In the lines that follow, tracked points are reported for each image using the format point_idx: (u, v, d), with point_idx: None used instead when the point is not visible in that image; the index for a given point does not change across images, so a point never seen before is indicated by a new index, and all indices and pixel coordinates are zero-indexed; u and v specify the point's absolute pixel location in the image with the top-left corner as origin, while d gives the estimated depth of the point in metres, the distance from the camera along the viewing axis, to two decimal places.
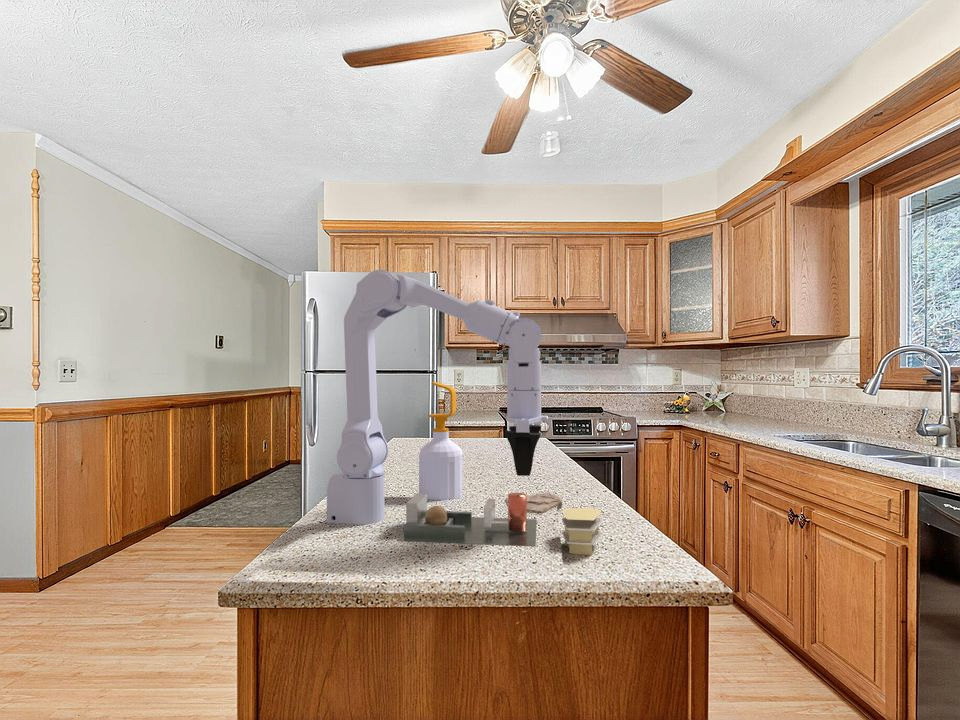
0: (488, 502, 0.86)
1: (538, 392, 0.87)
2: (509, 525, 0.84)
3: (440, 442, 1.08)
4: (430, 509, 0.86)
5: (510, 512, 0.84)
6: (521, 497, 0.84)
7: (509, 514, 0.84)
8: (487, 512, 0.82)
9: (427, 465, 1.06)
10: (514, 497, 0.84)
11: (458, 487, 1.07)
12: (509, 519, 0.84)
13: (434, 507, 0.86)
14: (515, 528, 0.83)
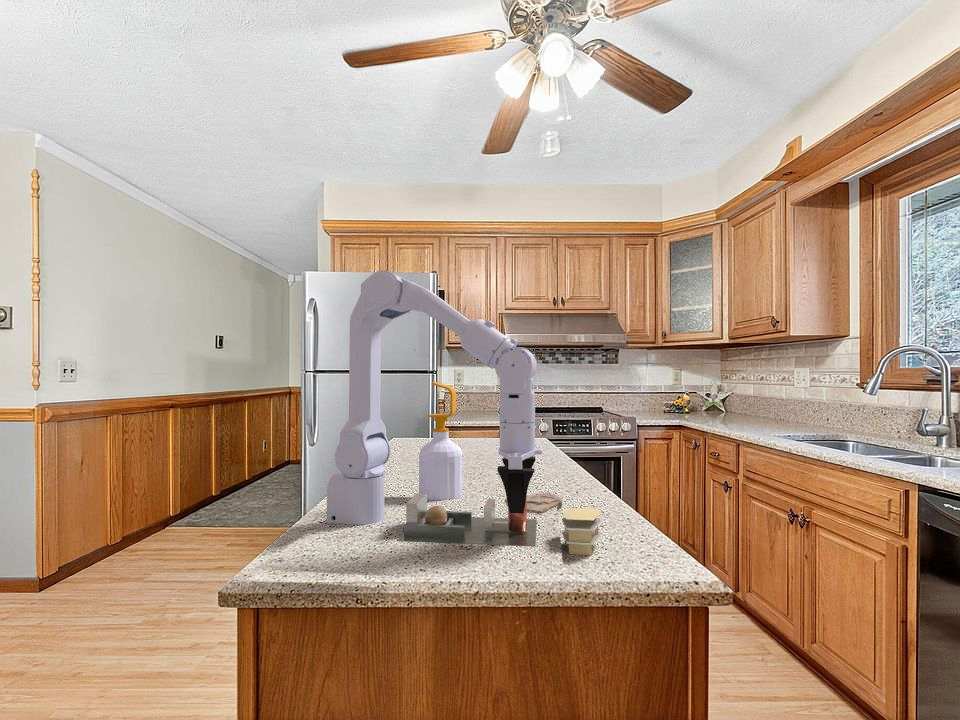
0: (488, 502, 0.86)
1: (532, 424, 0.83)
2: (509, 525, 0.84)
3: (440, 442, 1.08)
4: (430, 509, 0.86)
5: None
6: None
7: (509, 514, 0.84)
8: (487, 512, 0.82)
9: (427, 465, 1.06)
10: None
11: (458, 487, 1.07)
12: (509, 519, 0.84)
13: (434, 507, 0.86)
14: (515, 528, 0.83)
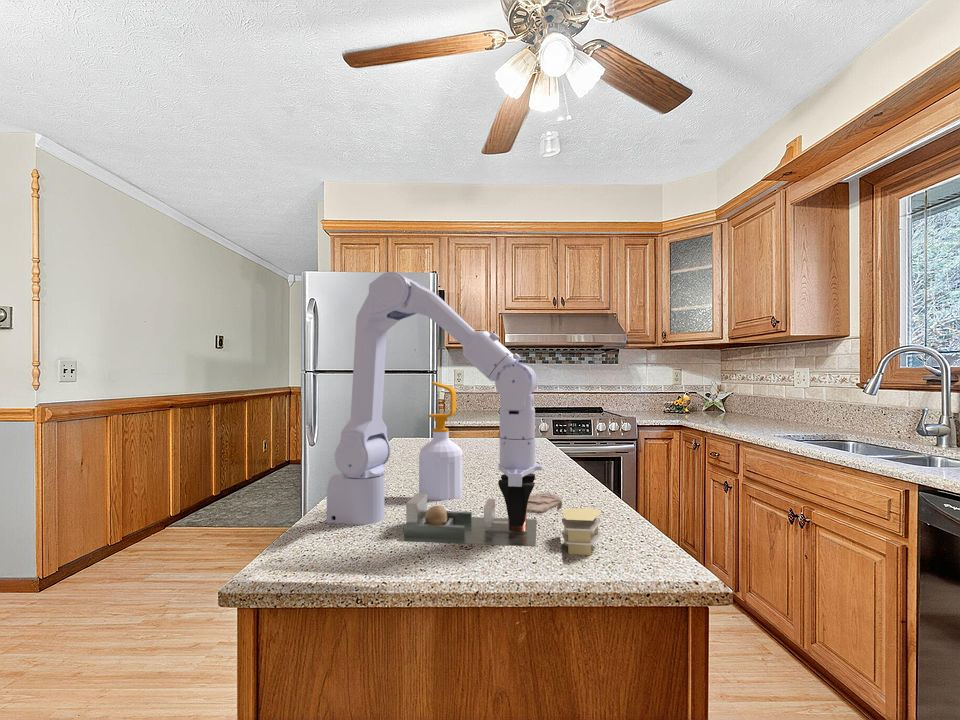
0: (488, 502, 0.86)
1: (532, 441, 0.83)
2: (509, 525, 0.84)
3: (441, 442, 1.08)
4: (430, 509, 0.86)
5: None
6: None
7: None
8: (487, 512, 0.82)
9: (427, 465, 1.06)
10: None
11: (458, 487, 1.07)
12: None
13: (434, 507, 0.86)
14: (515, 528, 0.83)
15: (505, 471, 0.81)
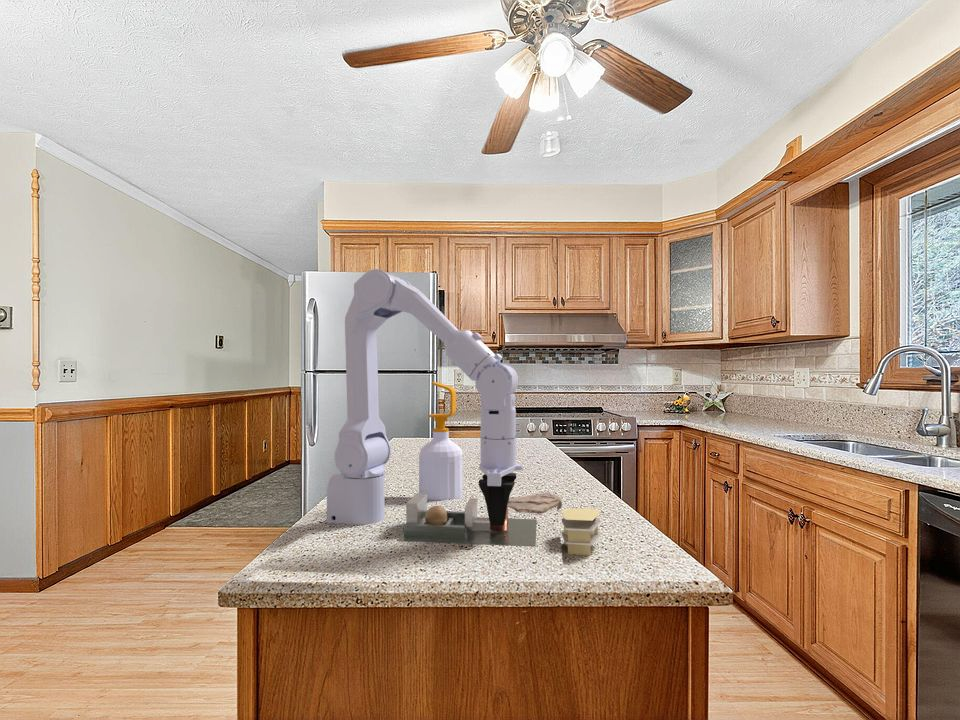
0: (470, 501, 0.86)
1: (512, 440, 0.84)
2: (490, 524, 0.84)
3: (440, 442, 1.08)
4: (430, 509, 0.86)
5: None
6: None
7: None
8: (468, 512, 0.83)
9: (427, 465, 1.06)
10: None
11: (458, 487, 1.07)
12: None
13: (434, 507, 0.86)
14: (496, 527, 0.84)
15: (485, 471, 0.81)
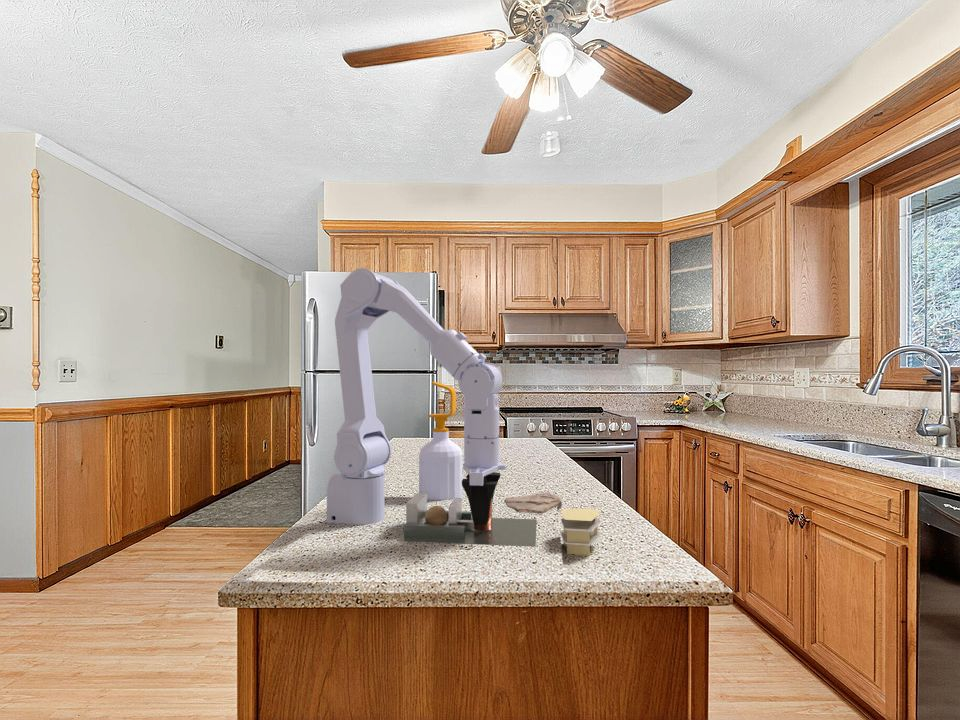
0: (454, 501, 0.87)
1: (495, 440, 0.84)
2: None
3: (441, 442, 1.08)
4: (430, 509, 0.86)
5: None
6: None
7: None
8: (452, 511, 0.83)
9: (427, 465, 1.06)
10: None
11: (458, 487, 1.07)
12: None
13: (434, 507, 0.86)
14: (480, 527, 0.84)
15: (468, 470, 0.81)
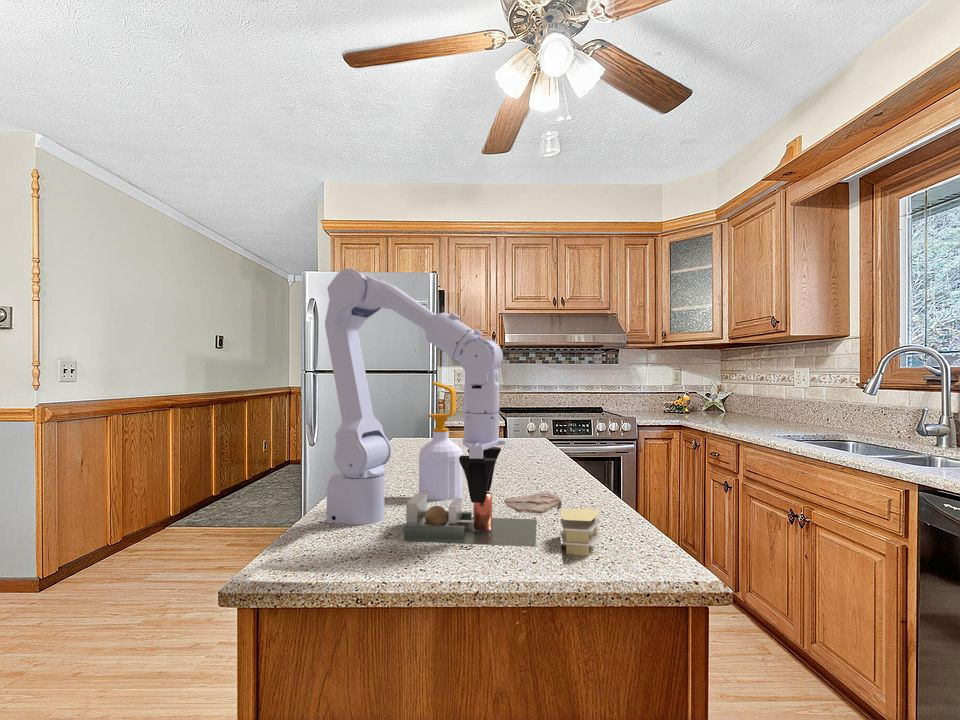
0: (454, 501, 0.87)
1: (495, 415, 0.84)
2: (474, 524, 0.85)
3: (440, 442, 1.08)
4: (430, 509, 0.86)
5: (475, 511, 0.85)
6: (486, 496, 0.84)
7: (474, 513, 0.85)
8: (452, 511, 0.83)
9: (427, 465, 1.06)
10: None
11: (458, 487, 1.07)
12: (474, 518, 0.85)
13: (434, 507, 0.86)
14: (480, 527, 0.84)
15: (467, 444, 0.81)
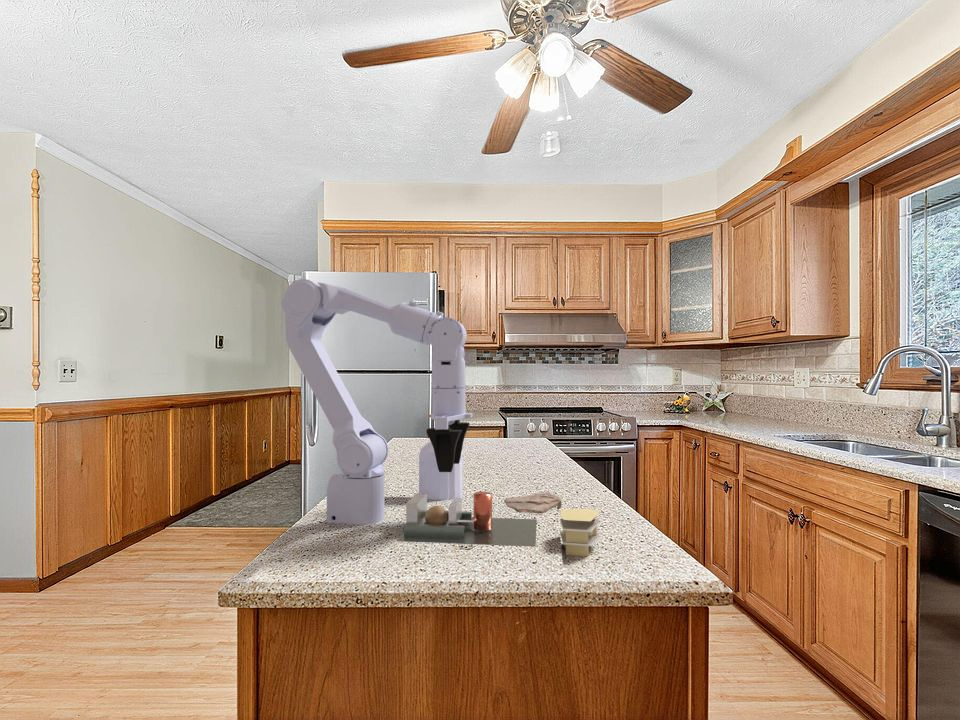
0: (454, 501, 0.87)
1: (461, 390, 0.89)
2: (474, 524, 0.85)
3: None
4: (430, 509, 0.86)
5: (475, 511, 0.85)
6: (486, 496, 0.84)
7: (474, 513, 0.85)
8: (452, 511, 0.83)
9: (427, 465, 1.06)
10: (479, 496, 0.84)
11: (458, 487, 1.07)
12: (474, 518, 0.85)
13: (434, 507, 0.86)
14: (480, 527, 0.84)
15: (434, 417, 0.86)
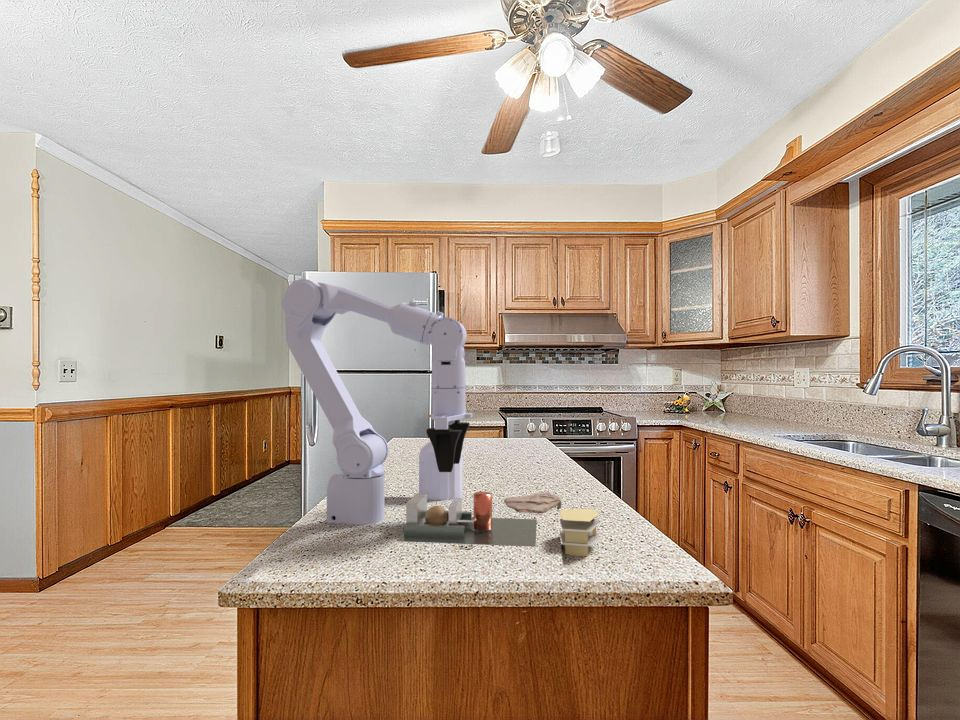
0: (454, 501, 0.87)
1: (461, 390, 0.89)
2: (474, 524, 0.85)
3: None
4: (430, 509, 0.86)
5: (475, 511, 0.85)
6: (486, 496, 0.84)
7: (474, 513, 0.85)
8: (452, 511, 0.83)
9: (427, 465, 1.06)
10: (479, 496, 0.84)
11: (458, 487, 1.07)
12: (474, 518, 0.85)
13: (434, 507, 0.86)
14: (480, 527, 0.84)
15: (434, 417, 0.86)
